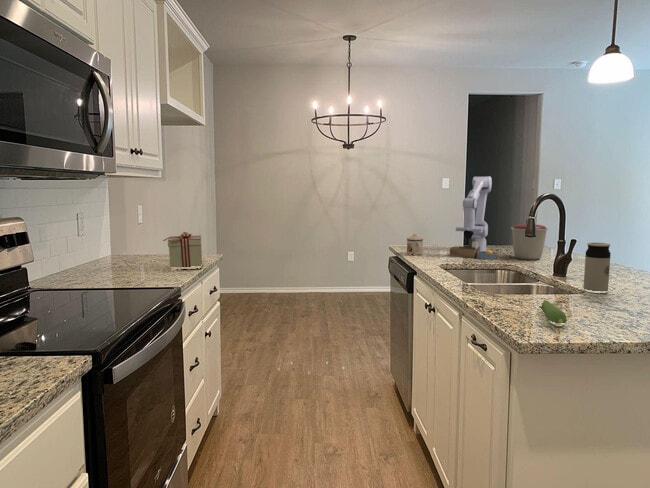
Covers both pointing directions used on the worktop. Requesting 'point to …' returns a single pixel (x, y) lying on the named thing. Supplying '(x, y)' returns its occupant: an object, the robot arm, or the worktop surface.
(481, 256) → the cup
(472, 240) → the plunger
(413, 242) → the teacup with lid
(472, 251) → the brown rectangular box
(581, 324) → the worktop surface
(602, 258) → the travel mug
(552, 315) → the green elongated piece
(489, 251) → the ball
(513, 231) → the white bucket
